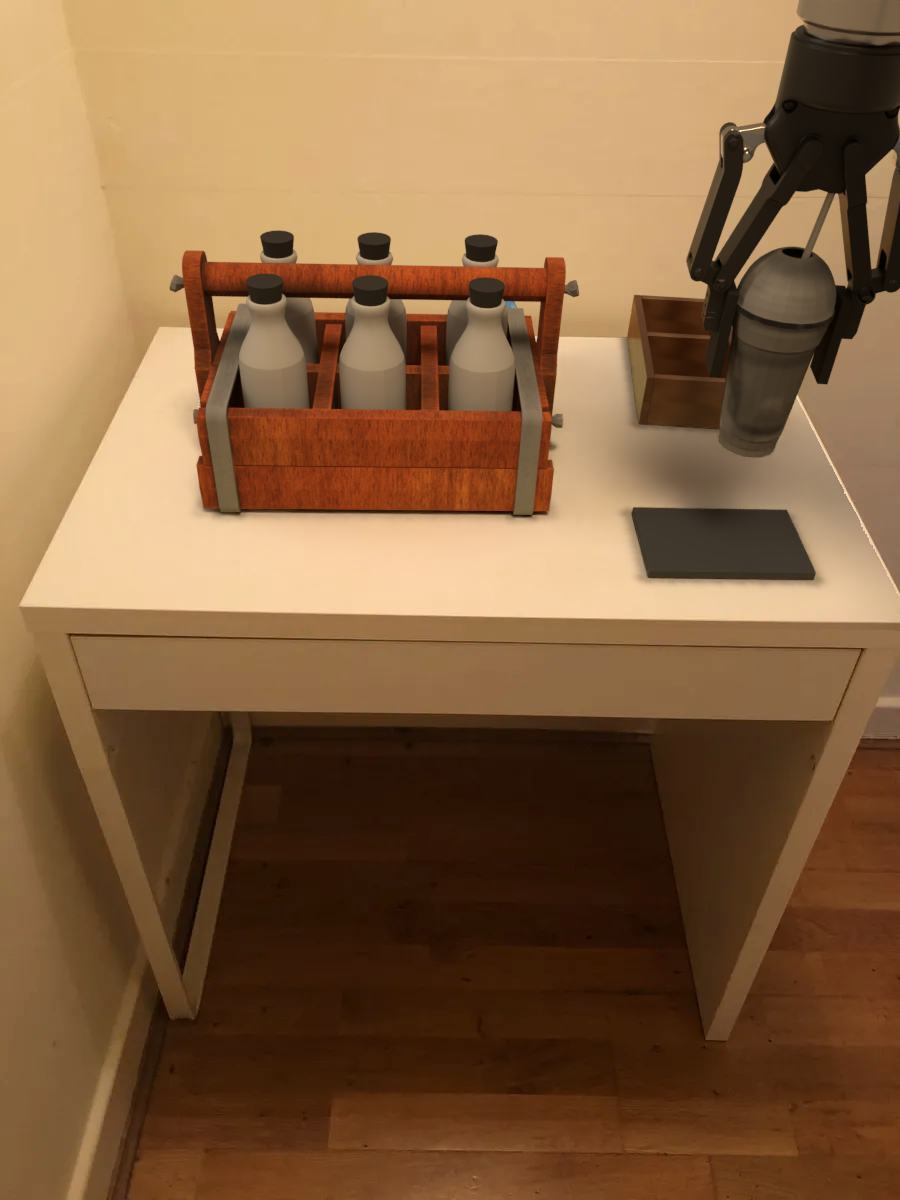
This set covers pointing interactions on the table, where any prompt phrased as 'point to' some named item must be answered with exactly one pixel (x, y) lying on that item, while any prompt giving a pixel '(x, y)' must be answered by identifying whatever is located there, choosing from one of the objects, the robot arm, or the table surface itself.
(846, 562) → the table surface
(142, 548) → the table surface
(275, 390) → the milk bottle holder
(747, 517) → the mat
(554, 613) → the table surface
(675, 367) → the wooden compartment box
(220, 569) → the table surface
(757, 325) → the beverage cup
